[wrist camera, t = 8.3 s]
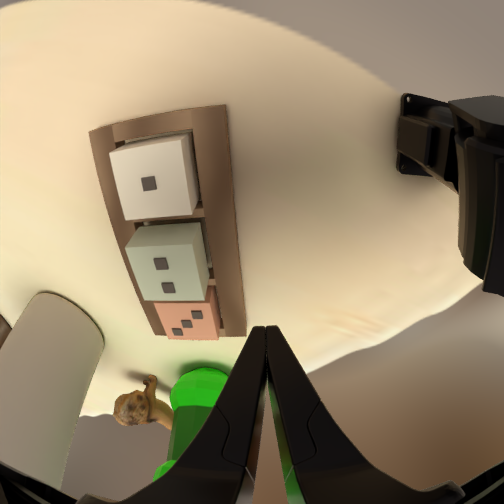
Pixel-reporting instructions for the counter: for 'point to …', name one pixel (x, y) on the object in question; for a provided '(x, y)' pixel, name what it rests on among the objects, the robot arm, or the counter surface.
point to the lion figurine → (143, 407)
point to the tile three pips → (191, 317)
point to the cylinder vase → (45, 385)
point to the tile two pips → (169, 262)
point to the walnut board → (211, 207)
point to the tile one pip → (156, 177)
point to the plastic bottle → (191, 409)
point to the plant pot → (3, 331)
